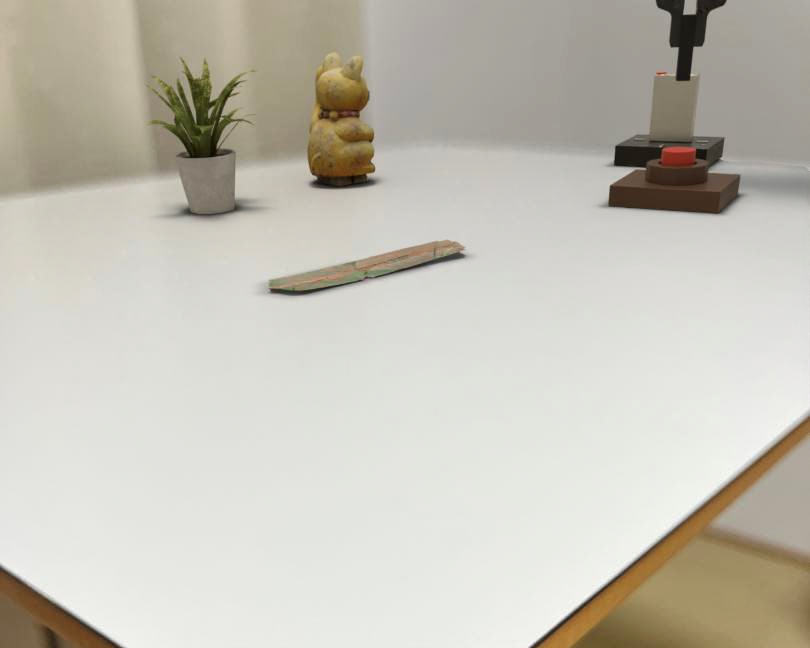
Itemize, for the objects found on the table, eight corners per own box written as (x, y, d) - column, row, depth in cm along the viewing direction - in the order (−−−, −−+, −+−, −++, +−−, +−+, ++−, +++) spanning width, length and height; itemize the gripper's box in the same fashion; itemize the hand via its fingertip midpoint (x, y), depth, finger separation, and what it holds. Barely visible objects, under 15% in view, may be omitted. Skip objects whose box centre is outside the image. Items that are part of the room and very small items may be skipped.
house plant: (291, 215, 107) (275, 54, 98) (168, 230, 103) (141, 63, 94) (263, 193, 118) (247, 47, 110) (152, 205, 114) (126, 55, 106)
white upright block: (692, 140, 125) (700, 71, 120) (689, 142, 123) (697, 72, 119) (651, 139, 127) (657, 71, 123) (648, 141, 126) (654, 72, 121)
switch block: (737, 194, 107) (743, 157, 105) (717, 213, 99) (723, 173, 97) (634, 188, 112) (637, 152, 110) (608, 206, 104) (610, 168, 102)
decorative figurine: (388, 180, 122) (383, 51, 114) (344, 192, 117) (335, 57, 109) (336, 174, 128) (327, 50, 120) (291, 184, 123) (279, 55, 115)
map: (257, 291, 83) (255, 280, 82) (441, 239, 92) (440, 229, 92) (285, 304, 79) (283, 293, 79) (473, 248, 89) (472, 238, 88)
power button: (697, 164, 104) (699, 147, 103) (689, 170, 102) (691, 152, 101) (665, 162, 106) (667, 146, 105) (656, 168, 103) (658, 151, 102)
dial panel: (722, 156, 128) (725, 135, 126) (704, 169, 120) (707, 147, 119) (635, 153, 133) (637, 132, 131) (613, 165, 125) (615, 144, 124)
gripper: (771, -178, 97) (738, 75, 109) (642, -169, 100) (624, 77, 112) (781, -188, 91) (745, 82, 103) (643, -177, 94) (624, 84, 106)
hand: (682, 79), depth 108 cm, fingers closed
